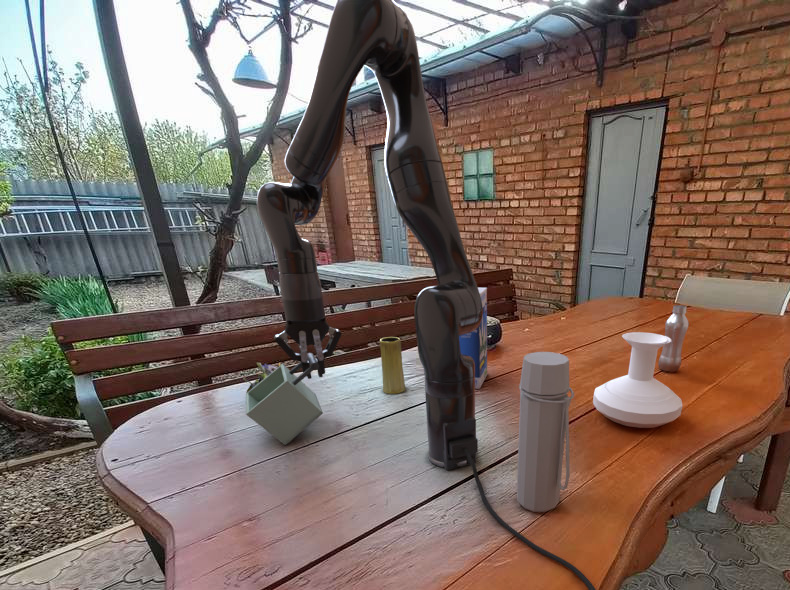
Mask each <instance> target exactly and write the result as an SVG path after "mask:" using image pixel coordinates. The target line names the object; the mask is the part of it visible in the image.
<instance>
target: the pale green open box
mask: <svg viewBox="0 0 790 590" xmlns="http://www.w3.org/2000/svg"><path fill="white" fill-rule="evenodd" d="M307 357H308V361H309V365H310V367H309V368H308V369H307V370H306V371H304V372H303V371H302V373H301V374H299V376H296V374H295V373H296V372H298V371H299V370H300V369H302V364H301V362H300V361H299V362H298V363H297V364H296V365H295V366H294V367H292V368H291V369H290V368H289V367H288V366H287V365H285V364H284V363H283V364H284V365H285V366H284V365H283V364H282V365H280V366H279V365H278V366H277V367H276V368H277V369H276V370H274V371H273V372H272V373H271V374H269V375H268V376H267V377H266V378H264V379H263V380H262V381H261V382H260V383H258V384H257V385H256V386H255V387H253V388H252V389H251V390H250V391H249V392H247V391H246V392H247V393H245V415H246V416H247V417H249V418H250V419H251V420H252V421H254V422H255V423H256V424H257V425H259V426H260V427H261V428H263V429H264V430H265V432H268V433H269V434H270V435H271V436H273V437H274V438H275V439H276V440H277V441H279V442H281V443H282V444H283V445H284V446H286V445H288V444H289V443H290V442H291V441H292V440H294V439H295V438H296V437H297V436H299V434H301V433H302V432H303V431H304V430H305V429H306V428H307V427H309V426H310V425H311V424H312V423H314V422H315V421H316V420H317V419H318V418H319V417H320V416H322V415H323V414H324V412H323V409H322V406H321V405H320V402H319V399H318V397H317V394H316V393H315V392H314V391H313V390H312V389H311V388H310V387H309V386H308V385H306V384H305V383H304V382H303V380H304V379H305V378H306V376H307V375H308V374H310V373H311V374H312V373H313V371H317V369H318V368H319V364H318V362H317V361H316V359H317V358H316V357H315V355H314V354H313V353H312V352H307ZM289 369H290V370H289Z"/></svg>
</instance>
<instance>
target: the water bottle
mask: <svg viewBox="0 0 790 590" xmlns="http://www.w3.org/2000/svg"><path fill="white" fill-rule="evenodd" d="M518 388H519V391H520V393H519V421H518V449H517V474H516V475H517V477H516V478H517V479H516V501H517V503H518V504H520V505H521V507H522V508H523V509H525V510H527V511H530V512H533V513H545V512H548V511H551V510H553V509H555V508H556V507H557V505H558V504H559V502H560V497H561V490H562V491H566V490H567V488H568V485H569V481H570V476H571V474H570V473H571V471H570V469H571V467H570V421H569V418H570V417H569V416H570V415H569V408H570V405H571V402H572V399H574V397H575V392H574V390H573V389H572V388H571V387H570V359H569V358H568V356H567V355H564V354H563V353H558V352H552V351H536V352H530V353H529V352H528V353H527V354H525V355H524V356H523V359H522V366H521V374H520V382H519V385H518ZM569 392H570V394H571V396H569V395H568V393H569ZM564 449H565V450H564ZM564 451H565V480H564V486H562V476H563V475H562V473H563V462H564Z"/></svg>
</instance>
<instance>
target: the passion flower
mask: <svg viewBox="0 0 790 590" xmlns="http://www.w3.org/2000/svg"><path fill="white" fill-rule="evenodd" d="M282 364H283V365H284V366H286V365H285V363H283V362H279V363H278V367H279V366H280V365H282ZM256 366H257V367H258V368H259V369H260V370H261V372H262V373H259V374H258V375H257V377H258V378H256V379H255V381H254V382H251V381H249V380H248V379H247V376H245V375H243V376H242V380H244V382H245V383H249V384H250V385H249V386H248V388H247V390H246V391H245V392H246V393H247V392H249V391H250V390H251V389H252V388H253V387H255V386H256V385H257V384H258V383H260V382H261V381H262V380H263V379H264V378H266V377H267V376H268V375H269V374H271V373H272V372H273V371H274V370H276V369H277V368H278V367H277V366H274V365H272V364H270V363H269V364H267V363H264V364H262V363H261V362H256ZM288 369H289V370H291V369H290V368H288ZM246 393H245V394H246Z"/></svg>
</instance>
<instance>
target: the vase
mask: <svg viewBox="0 0 790 590" xmlns="http://www.w3.org/2000/svg"><path fill="white" fill-rule="evenodd" d="M401 341H402V340H401V338H399V337H397V336H387V337H382V338H380V339H379V348H380V359H381V361H380V362H381V374H382V391H383V392H384V393H386V394H388V395H395V394H396V395H397V394H400V393H401V394H402V393H404V392H405V391H406V390H407V389H406V382H405V374H404V366H403V356H402V355H403V354H402V353H403V352H402V342H401Z"/></svg>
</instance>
